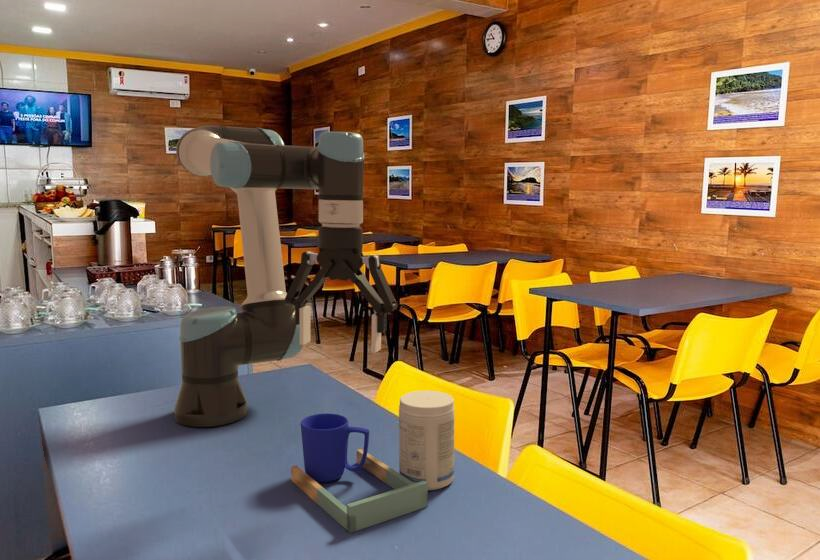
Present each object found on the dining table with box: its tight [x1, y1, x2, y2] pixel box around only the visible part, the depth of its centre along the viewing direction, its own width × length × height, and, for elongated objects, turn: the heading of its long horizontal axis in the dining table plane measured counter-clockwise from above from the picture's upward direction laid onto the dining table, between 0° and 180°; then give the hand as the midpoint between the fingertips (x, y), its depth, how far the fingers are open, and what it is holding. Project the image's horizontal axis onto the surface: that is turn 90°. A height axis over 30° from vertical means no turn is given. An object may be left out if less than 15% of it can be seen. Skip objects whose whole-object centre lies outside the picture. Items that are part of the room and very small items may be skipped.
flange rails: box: [290, 448, 391, 504], centre depth 107 cm, size 10×14×2 cm
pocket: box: [316, 467, 429, 534], centre depth 99 cm, size 10×14×4 cm
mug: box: [300, 413, 370, 483], centre depth 108 cm, size 8×12×10 cm
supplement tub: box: [398, 390, 455, 491], centre depth 107 cm, size 10×10×15 cm
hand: (340, 347), depth 109 cm, fingers open, 13 cm apart
